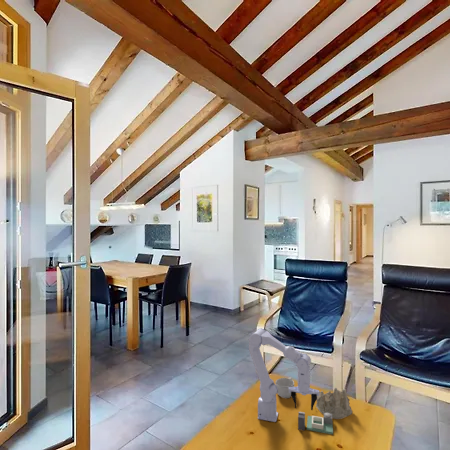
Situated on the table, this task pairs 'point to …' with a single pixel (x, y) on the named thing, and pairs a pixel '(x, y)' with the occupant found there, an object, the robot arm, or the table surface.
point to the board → (320, 423)
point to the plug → (301, 421)
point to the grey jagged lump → (334, 404)
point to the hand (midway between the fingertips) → (303, 408)
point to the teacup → (284, 387)
